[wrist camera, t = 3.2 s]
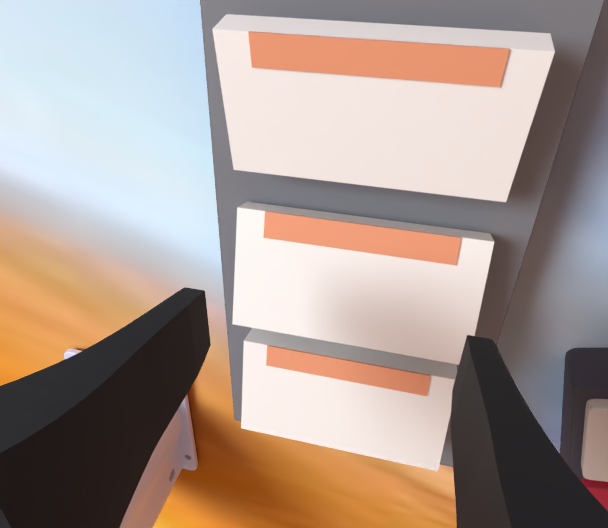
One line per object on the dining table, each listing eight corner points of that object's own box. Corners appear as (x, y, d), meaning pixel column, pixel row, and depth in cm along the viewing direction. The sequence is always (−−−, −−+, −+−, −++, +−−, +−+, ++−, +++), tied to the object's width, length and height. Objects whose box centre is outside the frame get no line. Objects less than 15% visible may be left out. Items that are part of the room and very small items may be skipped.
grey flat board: (457, 428, 28) (457, 468, 26) (249, 386, 30) (234, 419, 28) (716, -461, 11) (775, -550, 9) (205, -408, 13) (161, -469, 11)
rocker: (465, 351, 20) (468, 367, 19) (242, 312, 21) (231, 324, 20) (490, 233, 18) (494, 242, 17) (247, 201, 20) (236, 207, 19)
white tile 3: (504, 180, 17) (505, 203, 16) (244, 151, 19) (232, 170, 18) (550, 33, 14) (555, 52, 13) (226, 14, 15) (211, 29, 14)
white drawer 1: (437, 452, 23) (437, 472, 22) (249, 412, 25) (240, 429, 24) (456, 364, 22) (458, 381, 20) (252, 327, 23) (243, 341, 22)
